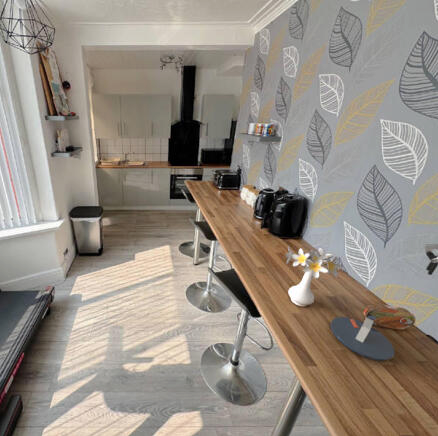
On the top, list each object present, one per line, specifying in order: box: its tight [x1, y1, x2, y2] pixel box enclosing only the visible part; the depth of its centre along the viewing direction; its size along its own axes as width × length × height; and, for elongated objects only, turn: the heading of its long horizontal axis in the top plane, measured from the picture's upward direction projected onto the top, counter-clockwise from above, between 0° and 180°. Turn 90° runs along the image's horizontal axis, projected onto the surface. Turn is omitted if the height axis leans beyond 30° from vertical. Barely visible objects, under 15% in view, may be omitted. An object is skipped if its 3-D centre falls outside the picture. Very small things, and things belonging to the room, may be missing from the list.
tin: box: [362, 303, 416, 331], centre depth 88 cm, size 15×3×8 cm, turn 76°
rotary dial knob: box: [330, 316, 395, 362], centre depth 80 cm, size 17×17×7 cm
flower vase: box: [285, 245, 343, 308], centre depth 94 cm, size 13×18×25 cm
